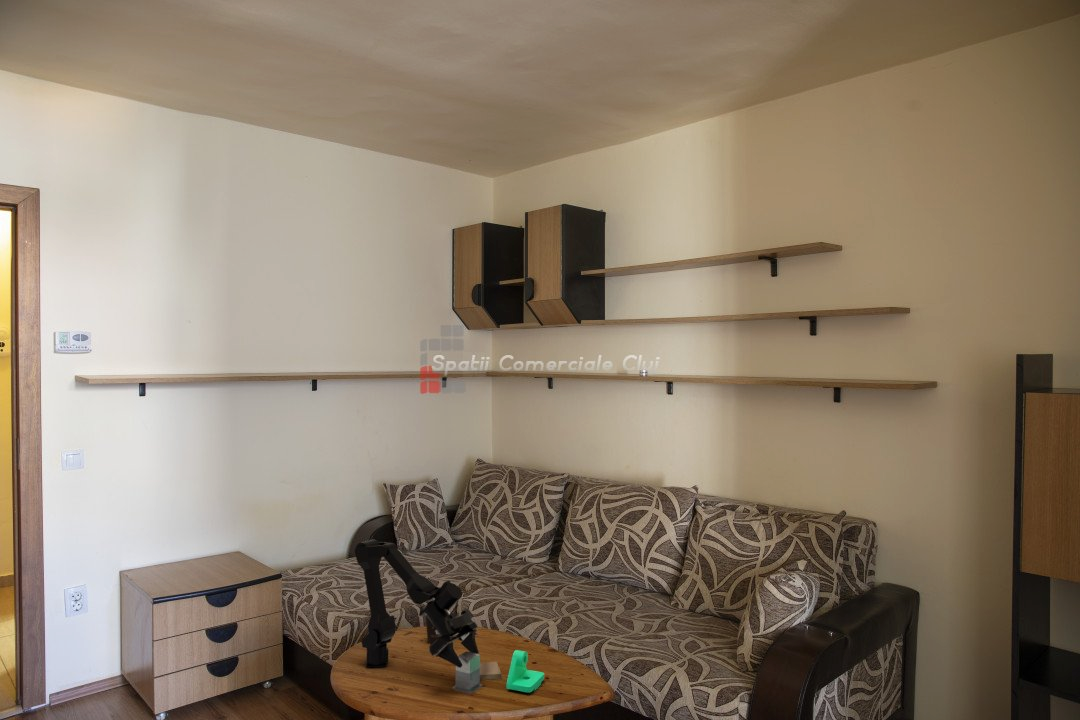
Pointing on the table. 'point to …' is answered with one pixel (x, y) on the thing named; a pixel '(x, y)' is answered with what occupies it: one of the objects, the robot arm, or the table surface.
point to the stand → (489, 671)
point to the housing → (468, 673)
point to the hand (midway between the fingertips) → (470, 661)
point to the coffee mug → (430, 633)
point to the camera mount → (523, 674)
